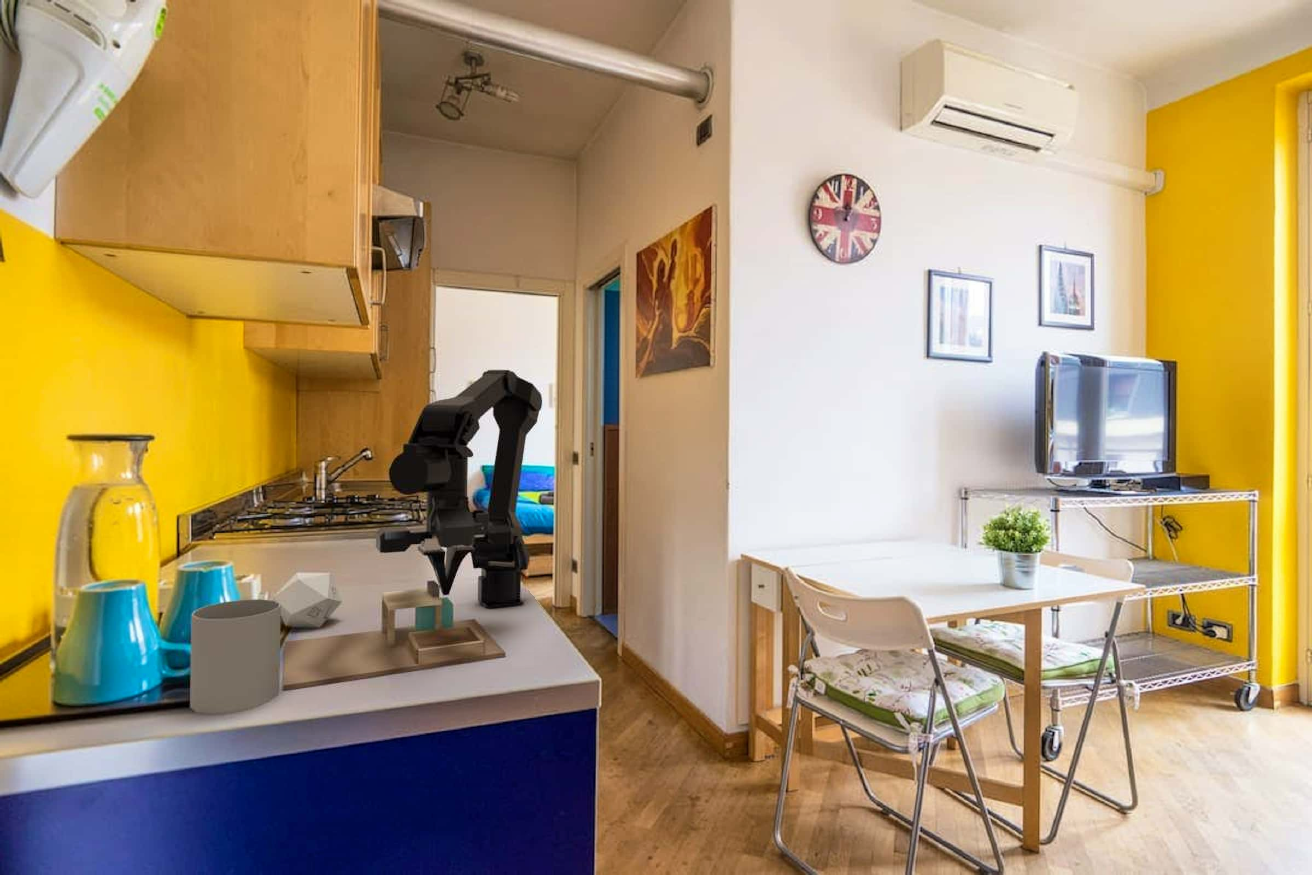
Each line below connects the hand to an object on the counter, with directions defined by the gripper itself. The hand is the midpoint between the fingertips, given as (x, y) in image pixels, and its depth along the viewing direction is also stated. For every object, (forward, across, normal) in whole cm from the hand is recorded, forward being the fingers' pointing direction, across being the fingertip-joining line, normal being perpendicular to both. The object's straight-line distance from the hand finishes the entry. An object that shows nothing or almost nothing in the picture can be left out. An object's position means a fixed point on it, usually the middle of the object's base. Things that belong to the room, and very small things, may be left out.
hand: (445, 594), depth 96 cm
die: (+6, -17, +15) cm, 24 cm away
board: (+6, -8, -4) cm, 10 cm away
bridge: (+5, -5, 0) cm, 7 cm away
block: (+6, -2, 0) cm, 6 cm away
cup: (+6, -25, -12) cm, 29 cm away
